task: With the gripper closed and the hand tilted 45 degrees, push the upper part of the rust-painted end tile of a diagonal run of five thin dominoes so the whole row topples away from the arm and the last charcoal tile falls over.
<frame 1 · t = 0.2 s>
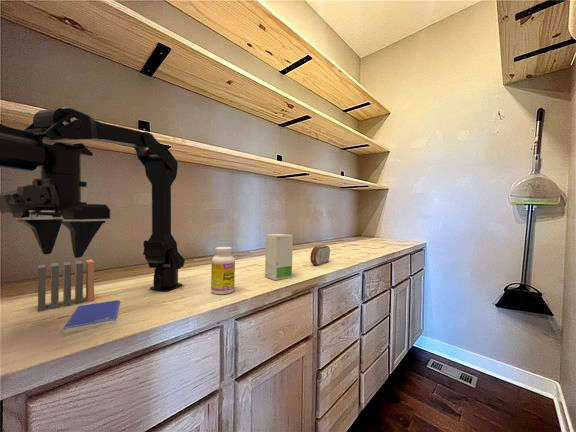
hand: (62, 255, 47), 14 cm above the worktop, tool pointing down, fingers open, 9 cm apart
tin: (320, 264, 111), on the worktop
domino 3: (67, 303, 60), on the worktop
domino 4: (54, 305, 58), on the worktop
supplement bottle: (222, 292, 71), on the worktop
domino 1: (89, 299, 63), on the worktop
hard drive: (95, 319, 53), on the worktop
domino 2: (78, 301, 61), on the worktop
domino 5: (41, 308, 57), on the worktop
skincare box: (278, 277, 87), on the worktop
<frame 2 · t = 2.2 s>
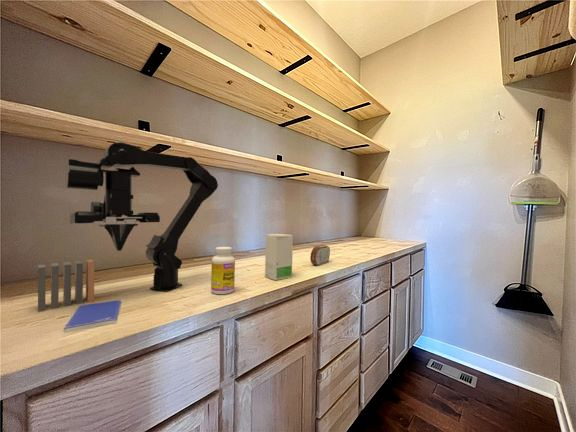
hand: (118, 250, 63), 13 cm above the worktop, tool pointing down, fingers closed
nothing on the worktop moved.
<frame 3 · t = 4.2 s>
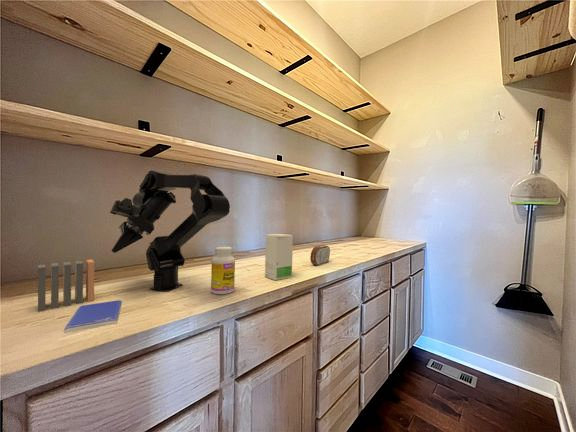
hand: (112, 251, 66), 12 cm above the worktop, tool tilted 40°, fingers closed
nothing on the worktop moved.
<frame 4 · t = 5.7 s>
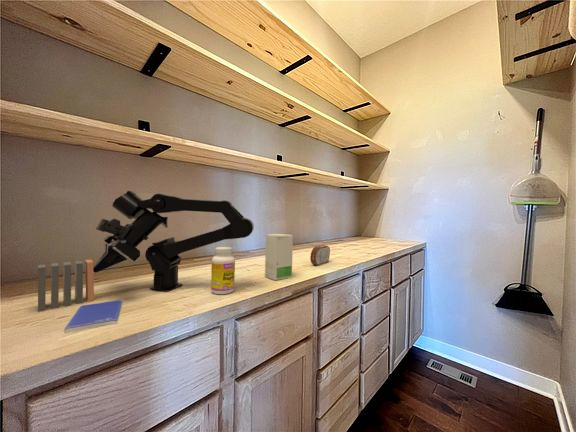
hand: (93, 271, 63), 7 cm above the worktop, tool tilted 45°, fingers closed
domino 1: (89, 299, 63), on the worktop, touching gripper
everything else where it was.
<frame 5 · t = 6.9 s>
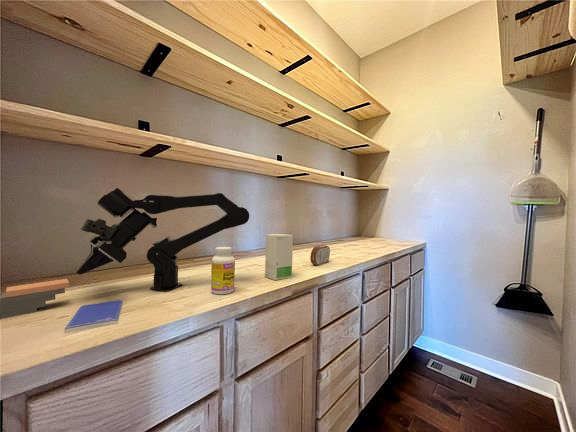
hand: (77, 273, 61), 7 cm above the worktop, tool tilted 45°, fingers closed
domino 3: (55, 294, 58), point 3 cm above the worktop, tilted 90°, touching domino 2, domino 4
domino 4: (45, 301, 57), point 1 cm above the worktop, tilted 90°, touching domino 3, domino 5
domino 1: (67, 282, 60), point 5 cm above the worktop, tilted 90°, touching domino 2
domino 2: (64, 288, 59), point 4 cm above the worktop, tilted 90°, touching domino 1, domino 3
domino 5: (37, 307, 56), on the worktop, tilted 90°, touching domino 4
everything else where it was.
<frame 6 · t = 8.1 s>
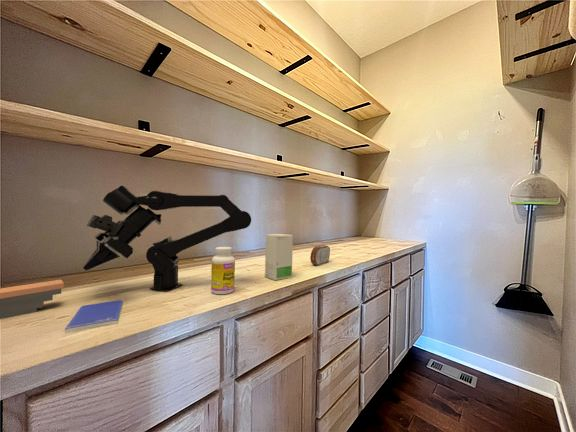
hand: (84, 269, 62), 8 cm above the worktop, tool tilted 45°, fingers closed
domino 1: (62, 283, 59), point 5 cm above the worktop, tilted 90°, touching domino 2
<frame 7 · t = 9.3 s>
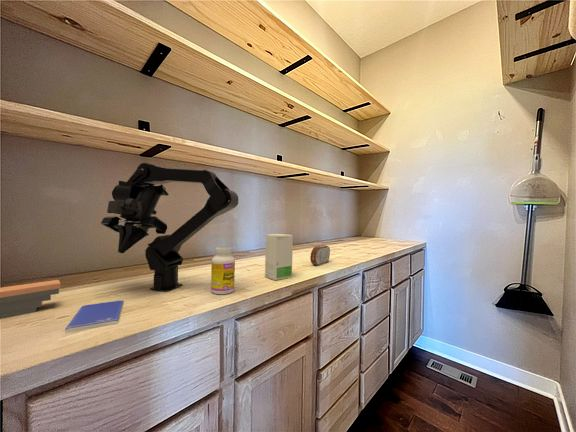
hand: (120, 252, 65), 12 cm above the worktop, tool tilted 30°, fingers closed
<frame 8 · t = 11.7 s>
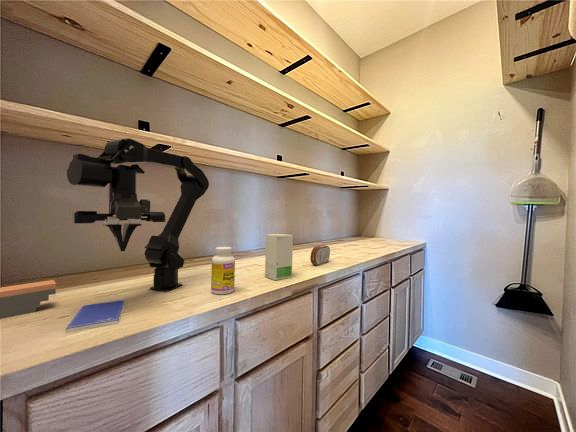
hand: (122, 251, 61), 13 cm above the worktop, tool pointing down, fingers closed
at the end: domino 5 tilted 90°; domino 1 tilted 90° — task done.
